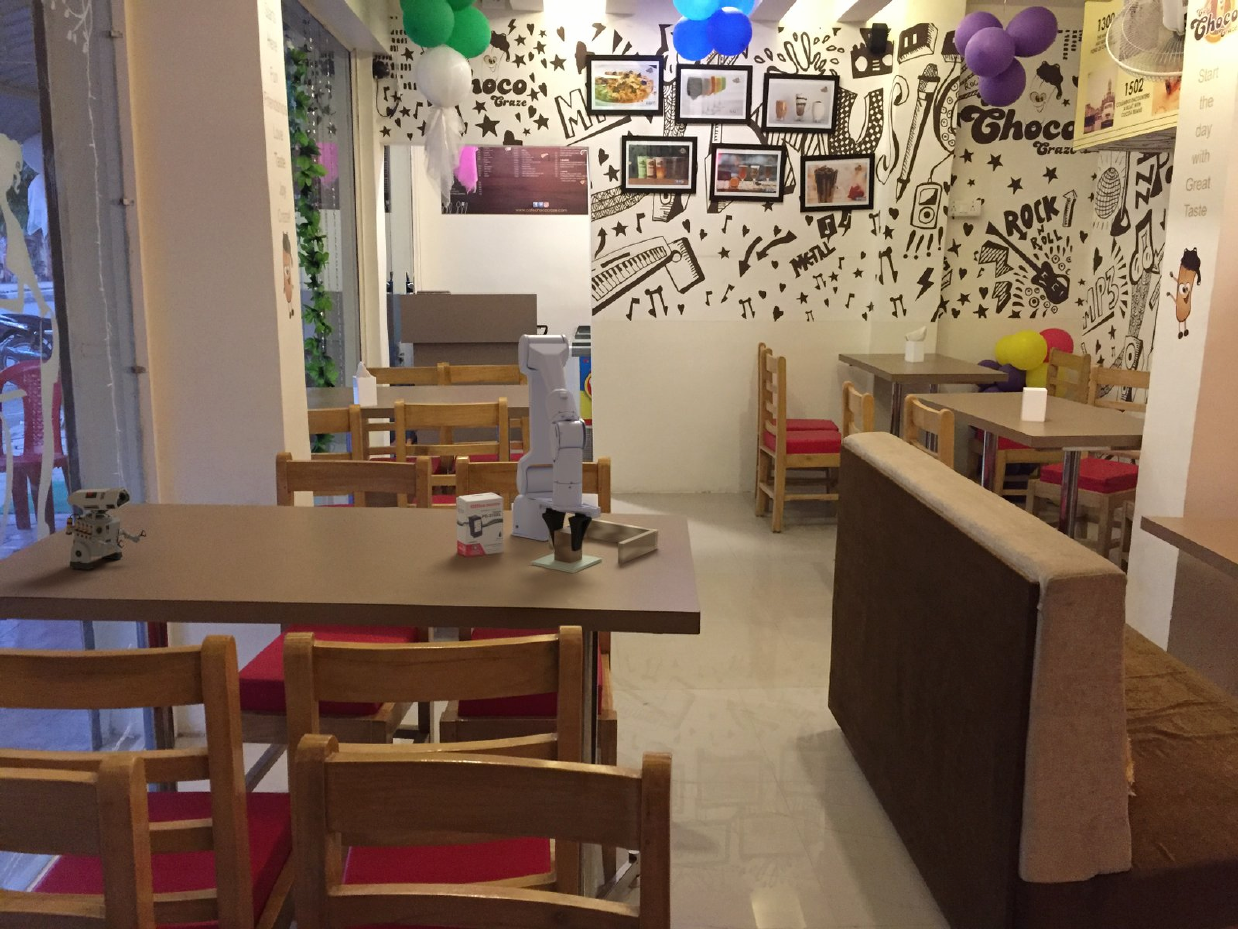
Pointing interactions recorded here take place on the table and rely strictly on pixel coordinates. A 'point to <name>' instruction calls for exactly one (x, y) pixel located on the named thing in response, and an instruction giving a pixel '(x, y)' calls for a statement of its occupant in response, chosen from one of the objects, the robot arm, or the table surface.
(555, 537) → the walnut block
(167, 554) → the table surface
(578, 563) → the pad
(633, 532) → the corral
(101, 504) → the figurine
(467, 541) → the ink box
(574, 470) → the robot arm
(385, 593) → the table surface
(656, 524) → the table surface
